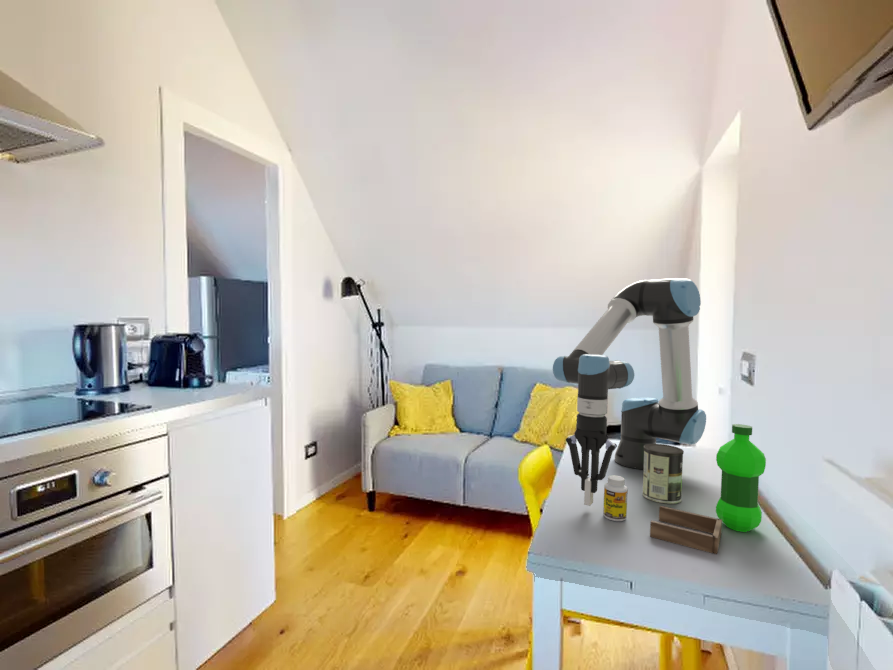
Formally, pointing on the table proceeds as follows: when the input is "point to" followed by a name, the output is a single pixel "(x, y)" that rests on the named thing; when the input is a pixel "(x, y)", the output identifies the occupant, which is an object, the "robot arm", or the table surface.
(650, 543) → the table surface
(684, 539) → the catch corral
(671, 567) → the table surface
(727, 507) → the plastic bottle
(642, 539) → the table surface
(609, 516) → the supplement bottle
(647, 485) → the coffee can
